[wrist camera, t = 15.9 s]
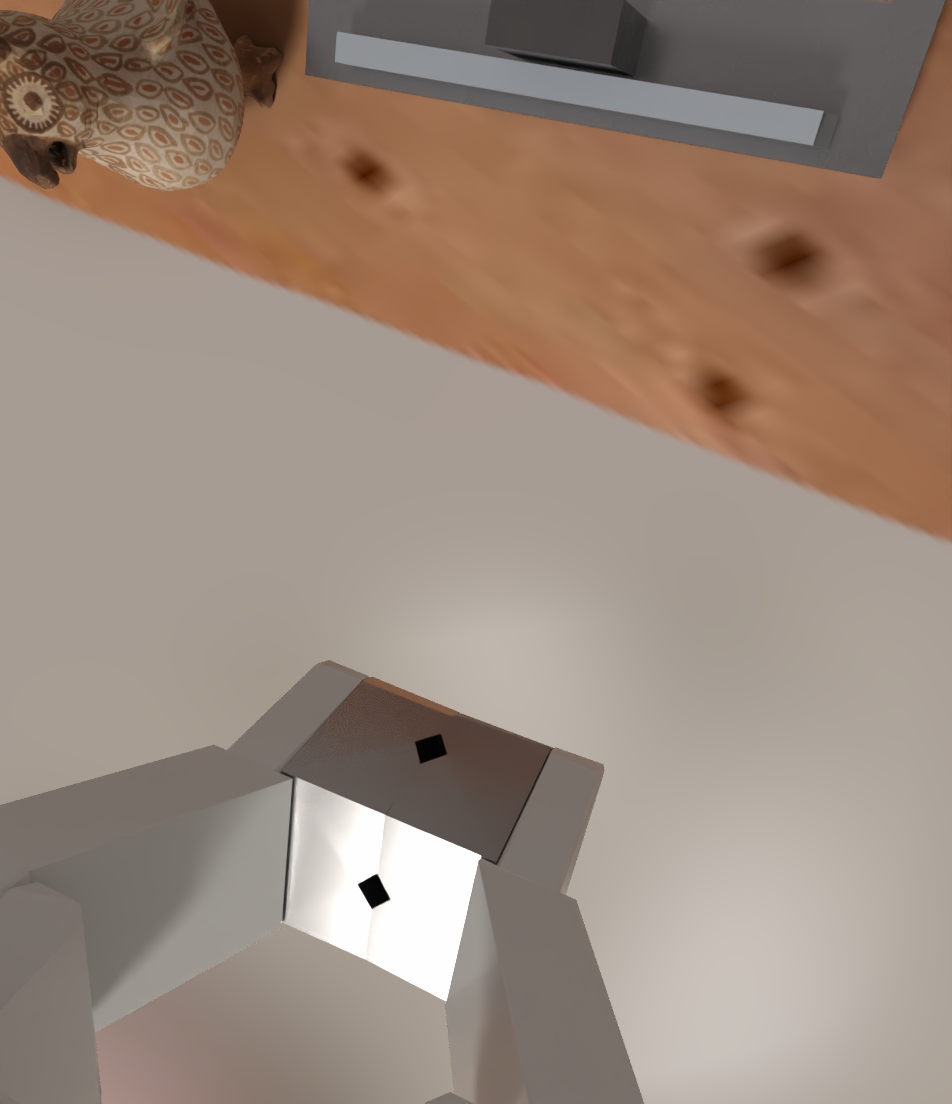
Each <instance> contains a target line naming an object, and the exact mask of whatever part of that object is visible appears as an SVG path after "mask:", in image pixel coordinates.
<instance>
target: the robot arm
mask: <svg viewBox="0 0 952 1104" xmlns="http://www.w3.org/2000/svg"><path fill="white" fill-rule="evenodd" d="M603 774H604V765H603V764H601V763H598V762H595V761H592V760H590V759H587V758H584V757H581V756H578V755H576V754H573V753H570V752H567V751H564V750H561V749H559V748H552V747H549V746H547V745H544V744H542V743H539V742H536V741H533V740H531V739H528V738H525V737H523V736H520V735H517V734H515V733H512V732H509V731H507V730H504V729H502V728H499V727H496V726H493V725H491V724H488V723H486V722H483V721H480V720H478V719H475V718H472V717H469V716H467V715H464V714H461V713H459V712H457V711H455V710H452V709H450V708H447V707H445V706H442V705H440V704H438V703H435V702H433V701H430V700H428V699H425V698H423V697H420V696H418V695H415V694H413V693H411V692H408V691H406V690H403V689H401V688H398V687H396V686H394V685H391V684H389V683H386V682H384V681H381V680H379V679H376V678H374V677H371V678H370V677H368V676H367V675H365V674H362V673H360V672H357V671H355V670H352V669H350V668H347V667H345V666H342V665H340V664H337V663H335V662H332V661H330V660H328V661H325V662H321V663H318V664H317V665H315V666H314V667H313V668H312V669H311V670H310V671H309V672H308V673H307V674H306V675H305V676H304V677H302V678H301V679H300V681H298V682H297V683H296V684H295V685H294V686H293V687H292V688H291V689H290V690H289V691H288V692H287V693H286V694H285V695H284V696H283V697H282V698H281V699H280V700H279V701H278V702H277V703H275V704H274V705H273V706H272V707H271V708H270V709H269V710H268V711H267V712H266V713H265V714H264V715H263V716H262V717H261V718H260V719H259V720H258V721H257V722H256V723H255V724H254V725H253V726H252V727H251V728H250V729H248V730H247V731H246V732H245V733H244V734H243V735H242V736H241V737H240V738H239V739H238V740H237V741H236V742H235V743H234V744H233V745H232V746H231V747H230V748H229V749H228V750H224V749H223V748H220V747H217V746H215V745H211V746H208V747H205V748H201V749H197V750H194V751H190V752H187V753H183V754H180V755H176V756H172V757H169V758H165V759H162V760H158V761H155V762H151V763H148V764H144V765H141V766H137V767H134V768H130V769H126V770H123V771H119V772H116V773H112V774H109V775H105V776H102V777H98V778H95V779H91V780H88V781H84V782H81V783H77V784H73V785H70V786H66V787H63V788H59V789H56V790H52V791H49V792H45V793H42V794H38V795H35V796H31V797H27V798H24V799H20V800H17V801H13V802H10V803H6V804H3V805H0V1104H101V1086H100V1076H99V1068H98V1059H97V1058H98V1057H97V1049H96V1039H95V1032H97V1031H99V1030H100V1029H102V1028H104V1027H106V1026H108V1025H109V1024H111V1023H113V1022H115V1021H116V1020H118V1019H120V1018H122V1017H124V1016H126V1015H127V1014H129V1013H131V1012H133V1011H134V1010H136V1009H138V1008H140V1007H142V1006H143V1005H145V1004H147V1003H149V1002H151V1001H152V1000H154V999H156V998H158V997H159V996H161V995H163V994H165V993H167V992H168V991H170V990H172V989H174V988H176V987H177V986H179V985H181V984H183V983H184V982H186V981H188V980H190V979H192V978H193V977H195V976H197V975H199V974H200V973H202V972H204V971H206V970H208V969H210V968H211V967H213V966H215V965H217V964H218V963H220V962H222V961H224V960H226V959H227V958H229V957H231V956H233V955H235V954H236V953H238V952H240V951H242V950H243V949H245V948H247V947H249V946H251V945H252V944H254V943H256V942H258V941H260V940H261V939H263V938H265V937H267V936H269V935H270V934H272V933H274V932H275V931H277V930H279V929H281V927H282V923H285V924H287V925H289V926H292V927H294V928H296V929H298V930H300V931H303V932H305V933H307V934H310V935H312V936H314V937H316V938H319V939H321V940H323V941H325V942H328V943H330V944H332V945H334V946H337V947H339V948H341V949H344V950H346V951H348V952H350V953H352V954H355V955H357V956H359V957H361V958H365V959H366V960H367V961H370V962H371V963H374V964H375V965H378V966H379V967H381V968H383V969H385V970H387V971H389V972H391V973H393V974H395V975H397V976H399V977H401V978H403V979H404V980H406V981H408V982H410V983H412V984H414V985H416V986H418V987H420V988H422V989H424V990H426V991H428V992H430V993H432V994H434V995H436V996H437V997H440V998H441V999H443V1000H446V1004H445V1009H446V1019H447V1028H448V1039H449V1048H450V1058H451V1067H452V1077H453V1087H454V1094H453V1093H451V1092H450V1093H447V1094H445V1095H442V1096H440V1097H438V1098H436V1099H433V1100H431V1101H428V1102H426V1103H425V1104H644V1102H643V1099H642V1096H641V1093H640V1090H639V1087H638V1084H637V1081H636V1078H635V1075H634V1072H633V1069H632V1066H631V1063H630V1060H629V1057H628V1054H627V1051H626V1048H625V1045H624V1042H623V1039H622V1036H621V1033H620V1030H619V1027H618V1024H617V1021H616V1018H615V1015H614V1012H613V1009H612V1006H611V1003H610V1000H609V997H608V994H607V991H606V988H605V985H604V982H603V979H602V976H601V973H600V970H599V967H598V964H597V961H596V958H595V955H594V952H593V949H592V946H591V943H590V940H589V937H588V934H587V931H586V928H585V925H584V922H583V919H582V916H581V913H580V910H579V907H578V904H577V901H576V900H575V899H573V898H571V897H568V896H566V892H567V889H568V886H569V883H570V880H571V876H572V873H573V870H574V867H575V864H576V860H577V857H578V854H579V851H580V848H581V844H582V841H583V838H584V835H585V832H586V828H587V825H588V822H589V819H590V816H591V813H592V810H593V806H594V803H595V800H596V796H597V793H598V790H599V787H600V784H601V781H602V777H603Z"/></svg>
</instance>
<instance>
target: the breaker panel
mask: <svg viewBox="0 0 952 1104" xmlns="http://www.w3.org/2000/svg"><path fill="white" fill-rule="evenodd" d="M944 3H945V0H309V14H308V33H307V52H306V70H305V75H309V76H314V77H319V78H325V79H330V80H335V81H340V82H346V83H351V84H357V85H362V86H368V87H374V88H379V89H385V90H390V91H396V92H401V93H407V94H412V95H418V96H423V97H429V98H435V99H440V100H446V101H451V102H457V103H462V104H468V105H473V106H479V107H485V108H490V109H496V110H501V111H507V112H512V113H518V114H523V115H529V116H534V117H540V118H546V119H551V120H557V121H562V122H568V123H573V124H579V125H584V126H590V127H595V128H601V129H607V130H612V131H618V132H623V133H629V134H634V135H640V136H645V137H651V138H657V139H662V140H668V141H673V142H679V143H684V144H690V145H695V146H701V147H706V148H712V149H718V150H723V151H729V152H734V153H740V154H745V155H751V156H756V157H762V158H767V159H773V160H779V161H784V162H790V163H795V164H801V165H806V166H812V167H817V168H823V169H829V170H834V171H840V172H845V173H851V174H856V175H862V176H867V177H873V178H882V175H883V172H884V170H885V167H886V164H887V161H888V158H889V156H890V153H891V150H892V147H893V145H894V142H895V139H896V136H897V133H898V131H899V128H900V125H901V122H902V120H903V117H904V114H905V111H906V108H907V106H908V103H909V100H910V97H911V94H912V92H913V89H914V86H915V83H916V81H917V78H918V75H919V72H920V69H921V67H922V64H923V61H924V58H925V56H926V53H927V50H928V47H929V44H930V42H931V39H932V36H933V33H934V30H935V28H936V25H937V22H938V19H939V17H940V14H941V11H942V8H943V5H944ZM337 32H343V33H349V34H355V35H361V36H368V37H374V38H380V39H386V40H392V41H398V42H404V43H410V44H417V45H423V46H429V47H435V48H441V49H447V50H453V51H460V52H466V53H472V54H478V55H484V56H490V57H496V58H502V59H509V60H515V61H521V62H527V63H533V64H539V65H545V66H551V67H558V68H564V69H570V70H576V71H582V72H588V73H594V74H601V75H607V76H613V77H619V78H625V79H631V80H637V81H643V82H650V83H656V84H662V85H668V86H674V87H680V88H686V89H692V90H699V91H705V92H711V93H717V94H723V95H729V96H735V97H742V98H748V99H754V100H760V101H766V102H772V103H778V104H784V105H791V106H797V107H803V108H809V109H815V110H821V111H824V113H828V114H834V115H839V118H838V121H837V124H836V127H835V130H834V133H833V136H832V139H831V142H830V145H829V148H828V149H824V148H819V147H813V146H807V145H802V144H796V143H790V142H784V141H779V140H773V139H767V138H761V137H756V136H750V135H744V134H738V133H733V132H727V131H721V130H715V129H710V128H704V127H698V126H692V125H687V124H681V123H675V122H670V121H664V120H658V119H652V118H647V117H641V116H635V115H629V114H624V113H618V112H612V111H606V110H601V109H595V108H589V107H583V106H578V105H572V104H566V103H560V102H555V101H549V100H543V99H538V98H532V97H526V96H520V95H515V94H509V93H503V92H497V91H492V90H486V89H480V88H474V87H469V86H463V85H457V84H451V83H446V82H440V81H434V80H428V79H423V78H417V77H411V76H405V75H400V74H394V73H388V72H383V71H377V70H371V69H365V68H360V67H354V66H348V65H344V64H340V63H336V62H335V52H336V37H337Z"/></svg>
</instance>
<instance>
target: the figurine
mask: <svg viewBox="0 0 952 1104" xmlns="http://www.w3.org/2000/svg"><path fill="white" fill-rule="evenodd" d="M281 60H282V55H281V53H280V52H278V51H277V50H276V49H275V48H273V47H271V48H261V47H256V46H255V45H254V43H253V41H252V40H251V39H250V38H249V37H248V36H247V35H244V36H241V37H240V38H238V39H237V41H236V43H235V44H234V45H233V46H232V44H231V42H230V40H229V38H228V36H227V34H226V32H225V30H224V28H223V26H222V25H221V23H220V21H219V19H218V17H217V15H216V13H215V10H214V8H213V6H212V5H211V3H210V2H209V0H66V1H65V2H64V4H63V6H62V7H61V9H60V10H59V11H58V12H57V13H56V14H55V15H54V17H53V18H52V20H50V19H47V18H44V17H41V16H37V15H34V14H30V13H24V12H18V11H12V10H0V146H1V147H2V148H3V149H4V151H5V152H6V153H7V154H8V155H9V157H10V158H11V160H12V162H13V163H14V165H15V166H16V168H17V169H18V171H19V172H20V173H21V174H22V175H23V176H25V177H26V178H27V179H28V180H29V181H31V182H33V183H35V184H37V185H39V186H41V187H42V188H44V189H53V188H54V187H56V186H57V185H58V184H59V180H60V179H59V176H58V173H57V172H56V171H55V170H57V171H59V172H61V173H62V174H72V173H73V172H74V170H75V168H76V160H77V155H78V156H83V157H86V158H89V159H92V160H94V161H96V162H98V163H99V164H101V165H103V166H105V167H106V168H108V169H110V170H113V171H115V172H118V173H120V174H121V175H123V176H124V177H126V178H128V179H129V180H131V181H133V182H135V183H137V184H140V185H144V186H148V187H152V188H156V189H160V190H181V189H186V188H190V187H194V186H198V185H201V184H203V183H206V182H208V181H210V180H212V179H213V178H214V177H215V176H217V175H218V174H219V172H220V171H221V170H222V169H223V168H224V167H225V165H226V164H227V163H228V161H229V160H230V158H231V156H232V153H233V151H234V149H235V147H236V144H237V142H238V139H239V136H240V132H241V128H242V124H243V117H244V95H250V96H251V97H253V98H255V99H256V101H257V102H258V103H259V104H260V106H262V107H264V108H267V109H269V108H270V107H271V105H272V104H273V97H272V96H273V93H274V89H275V84H274V82H273V80H272V76H273V73H274V72H275V71H276V70H277V68H278V67H279V65H280V63H281Z"/></svg>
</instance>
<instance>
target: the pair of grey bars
mask: <svg viewBox="0 0 952 1104" xmlns="http://www.w3.org/2000/svg"><path fill="white" fill-rule="evenodd" d="M335 62H336V63H340V64H344V65H348V66H354V67H360V68H365V69H371V70H377V71H383V72H388V73H394V74H400V75H405V76H411V77H417V78H423V79H428V80H434V81H440V82H446V83H451V84H457V85H463V86H469V87H474V88H480V89H486V90H492V91H497V92H503V93H509V94H515V95H520V96H526V97H532V98H538V99H543V100H549V101H555V102H560V103H566V104H572V105H578V106H583V107H589V108H595V109H601V110H606V111H612V112H618V113H624V114H629V115H635V116H641V117H647V118H652V119H658V120H664V121H670V122H675V123H681V124H687V125H692V126H698V127H704V128H710V129H715V130H721V131H727V132H733V133H738V134H744V135H750V136H756V137H761V138H767V139H773V140H779V141H784V142H790V143H796V144H802V145H807V146H813V147H819V148H824V149H828V148H829V145H830V142H831V139H832V136H833V133H834V130H835V127H836V124H837V121H838V118H839V115H834V114H828V113H824V111H821V110H815V109H809V108H803V107H797V106H791V105H784V104H778V103H772V102H766V101H760V100H754V99H748V98H742V97H735V96H729V95H723V94H717V93H711V92H705V91H699V90H692V89H686V88H680V87H674V86H668V85H662V84H656V83H650V82H643V81H637V80H631V79H625V78H619V77H613V76H607V75H601V74H594V73H588V72H582V71H576V70H570V69H564V68H558V67H551V66H545V65H539V64H533V63H527V62H521V61H515V60H509V59H502V58H496V57H490V56H484V55H478V54H472V53H466V52H460V51H453V50H447V49H441V48H435V47H429V46H423V45H417V44H410V43H404V42H398V41H392V40H386V39H380V38H374V37H368V36H361V35H355V34H349V33H343V32H337V37H336V52H335Z"/></svg>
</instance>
